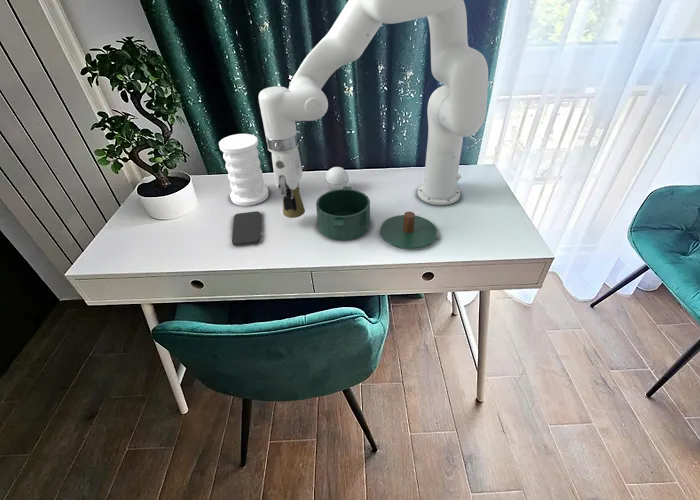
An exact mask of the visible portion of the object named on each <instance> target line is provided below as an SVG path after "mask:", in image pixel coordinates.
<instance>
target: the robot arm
mask: <svg viewBox="0 0 700 500" xmlns="http://www.w3.org/2000/svg"><path fill="white" fill-rule="evenodd" d="M422 18H426V19H427V22H428V29H429V39H430V40H429V41H430V44H429V45H430V70H431V75H432V77H433V78H434V79H435V80H436V81H437V82H439V83H440V84H442V86H439V87H437V88H436V89H435V90H433V92H432V93H431V95H430V97H429V99H428V102H427V107H426V108H427V127H428V128H427V145H426V152H425V153H426V155H425V165H424V177H423V184H421V185H420V186H419V187H418V189H417V196H418V198H419V199H420V200H421V201H423V202H424V203H427V204H430V205H434V206H447V205H448V206H449V205H453V204H454V203H456V202H458V201H459V199H460V197H461V191H460V189H459V188H458V187H457V182H458V181H459V180H460V179H461V178H462V175H461V174H460V173H459V169H460V168H459V167H460V163H461V162H460V161H461V154H462V150H463V149H462V148H463V141H464V138H468V137H471V136H473V135H475V134H476V133H478V132H479V130H480V129H481V128H482V126H483V124H484V122H485V119H486V115H487V108H488V107H487V106H488V90H489V89H488V88H489V66H488V63H487V60H486V58H485V56H484V55H483V53H482V52H480V51H479V50H477V49H475V48H472V47H470V46H469V42H468V17H467V9H466V4H465V1H464V0H347V2H346V4H345V5H344V7H343V9H342V10H341V11H340V13H339V15H338V16H337V18H336V20H335V21H334V22H333V24H332V25H331V28H330V29H329V30H328V32H327V33H326V34H325V35H324V37H322V39H321V40H320V41H319V42H318V43H317V44H316V45H315V46H314V47H313V48H312V49H311V50H310V51H309V52H308V54H307V55H306V57H305V58H304V59H303V61H302V62H301V64H300V65H299V67H298V69H297V71H296V72H295V74H294V75H293V77H292V79H291V80H290V83H289V85H288V88H287V87H285V86H279V85H278V86H269V87H265V88H263V89H262V90H260V91H259V93H258V104H259V109H260V115H261V119H262V123H263V124H262V125H263V129H264V135H265V141H266V146H267V150H268V151H269V152H270V153H271V161H272V168H273V169H272V170H273V175H274V182H275V185H276V188H277V189H278V190H280V191H279V196H280V197H281V198H282V203H283V202H284V207H285V210H289V209H293V210H294V211H296V210H297V206H296V200H295V197H294V195H293V190H294V189H296V187H297V186H298V183H299V184H300V181H301V179H302V176H303V167H302V161H301V156H300V151H299V139H298V132H297V125H296V124H297V123H296V122H314V121H317V120H320V119H322V118H323V117H324V116H325V115H326V113H327V112H328V109H329V101H328V98H327V96H326V94H325V93H324V91H323V90H322V89H323V88H324V86H325V84H326V83H327V81H328V80H329V79H330V77H331V76H332V75H333V74H334V73H335V72H336V71H337V70H339V69H340V68H341V67H343V66H346V65H348V64H351V63H353V62H355V61H357V60H358V59H360V58H361V56H362V55H363V53H364V51H366V49H367V48H368V45H369V44H370V43H371V42H372V40H373V38H374V36H375V35H376V33H377V32H378V30H379V29H380V28H381V26H382V25H383V24H386V25H387V24H388V25H394V24H400V23H406V22H410V21H413V20H417V19H418V20H419V19H422ZM286 185H288V187H286ZM298 189H299V192H300V187H299V186H298ZM286 190H290V193H289V192H287V191H286ZM300 193H301V192H300Z"/></svg>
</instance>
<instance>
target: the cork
mask: <svg viewBox="0 0 700 500" xmlns="http://www.w3.org/2000/svg"><path fill="white" fill-rule="evenodd" d="M299 185H300V182H299V183H298V186H297V187H296V189H294V190H293V195H294V197H295V200H296V206H297V210H296V211H294V210H293V209H289V210H285V207H284V202H283V201H282V214H283V216H284V217H286V218H289V219H294V218H299V217H301V216H303V215H304V214H305V213H306V208H305V206H304V202H303V199H302V196H301V192H299V191H300V188H299V189H298V187H299ZM286 187H288V185H286ZM286 191H287V192H289V193H290V190H286Z"/></svg>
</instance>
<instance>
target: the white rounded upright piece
mask: <svg viewBox="0 0 700 500" xmlns="http://www.w3.org/2000/svg"><path fill="white" fill-rule="evenodd" d="M349 180H350V178H349V174H348V172H347V171H346V169H344V167H341V166H333V167H331V168H329V169H328V170H327V172H326V174H325V178H324V181H325V184H326V185H327V187H328V188H329V189H331V191H333V190H338V189H343V186H348V184H349Z"/></svg>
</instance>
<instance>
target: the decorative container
mask: <svg viewBox="0 0 700 500" xmlns="http://www.w3.org/2000/svg"><path fill="white" fill-rule="evenodd" d="M218 146H219V150H220V151H221V152H222V159H223V160H224V161H225V169H226V171H227V179H228V180H229V182H230V185H229V186H230V189H231V190H232V191H231V192H230V194H229V196H230V200H231V202H232V203H233V204H235V205H238V206H242V207H246V206H254V205H257V204H261V203H262V202H264V201H265V200H266V199H267V198H268V197H269V189H268V187H267V186H266V185H265V180H264V178H263V170H262V168H261V160H260V158H259V149H258V148H257V147H258V146H259V140H258V137H257V136H256V135H254V134H251V133H236V134H231V135H228V136H226V137H223V138H221V140H219V141H218Z"/></svg>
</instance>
